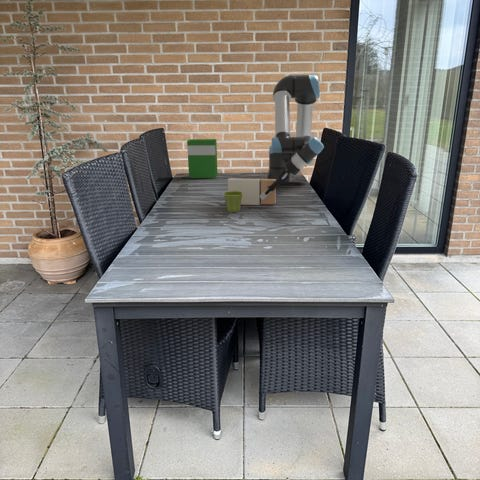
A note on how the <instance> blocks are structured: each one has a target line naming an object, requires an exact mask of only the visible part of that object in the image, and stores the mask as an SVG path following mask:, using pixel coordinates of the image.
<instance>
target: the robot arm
mask: <svg viewBox="0 0 480 480" xmlns="http://www.w3.org/2000/svg"><path fill="white" fill-rule="evenodd" d="M319 81H320V80H319V77H318V75H316V74H313V75H312V74H302V75H301V74H300V75H299V74H297V75H296V74H295V75H294V74H293V75H291V74H289V75H286V76H284V77H282V78H281V79H279V81H278V82H277V83H276V85H275V87H274V89H273V91H272V100H273V102H274V132H275V134H274V135H275V137H272V138H271V145H270V146H269V150H268V171H267V174H266V177H265V179H276V181H275V182H274V183H273V184H272V185H271V186H268V188H267V189H266V190H265V191H264V192H263V193H262V194H261V195H260V196H259V197H260V198H261V199H262V200H264V199H265V198H266V197H267V196H268V195H269V194H270V193H271V192H272V191H274V189H276V190H277V188H278V186H280V185H287V184H290V183H291V181H292V177H291V174H292V175H293V176H296V175H297V174H299V173H300V172H301V170H303V169H304V168H307V166H308V165H311V164H312V163H313V161H314V158H316V157H317V156H318V155H319V154H320V153H321V152H322V151H323V149H324V148H325V146H324V144H323V142H321V141H320V139H319V138H318V137H316V136H312V125H313V124H312V122H313V112H314V111H313V109H314V104H315V103H317V99H319V98H320V95H321V93H320V92H321V91H320V82H319ZM292 99H294V102H295V103H296V104H297V106H296V107H297V108H296V123H295V124H296V127H295V136H291V117H290V111H291V110H290V101H292Z"/></svg>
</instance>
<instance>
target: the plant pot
mask: <svg viewBox="0 0 480 480" xmlns="http://www.w3.org/2000/svg"><path fill="white" fill-rule="evenodd" d="M222 195H223V197H224V200H225V204H226V211H227V212H228V213H238V212H240V211H241V205H242V204H241V198H242V195H243V192H239V191H230V192H228V191H226V192H223V193H222Z"/></svg>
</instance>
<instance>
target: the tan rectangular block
mask: <svg viewBox="0 0 480 480" xmlns="http://www.w3.org/2000/svg"><path fill="white" fill-rule="evenodd" d="M260 179H261V194H262V193H263V192H264V191H265V190H266V189H267V188H268V186H271V185H272V184H273V183H274V182H275V181H276V179H266V178H260ZM276 190H277V188H276V189H274V191H272V192H271V193H270V194H269V195H268V196H267V197H266V198H265V199H264V200H262V199H261V204H260V205H275V204H277V203H276V199H277V198H276V196H277V195H276Z"/></svg>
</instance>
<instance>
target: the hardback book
mask: <svg viewBox="0 0 480 480" xmlns="http://www.w3.org/2000/svg"><path fill="white" fill-rule="evenodd" d="M217 142H218V141H217V139H216V138H207V139H206V138H205V139H204V138H203V139H202V138H200V139H199V138H198V139H197V138H196V139H191V138H190V139H188V140H186V147H187V148H186V149H187V162H188V163H187V164H188V165H187V167H188V178H216V179H217V177H216V176H219V173H218V171H219V170H218V149H217V148H218V147H217Z"/></svg>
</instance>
